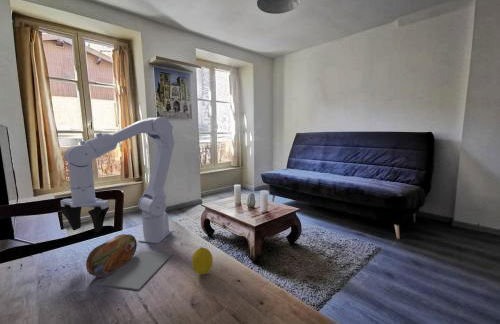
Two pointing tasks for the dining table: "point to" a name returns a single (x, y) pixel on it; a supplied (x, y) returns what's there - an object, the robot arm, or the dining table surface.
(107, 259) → the tin
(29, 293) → the dining table surface
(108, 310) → the dining table surface
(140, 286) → the felt mat
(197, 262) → the lemon
